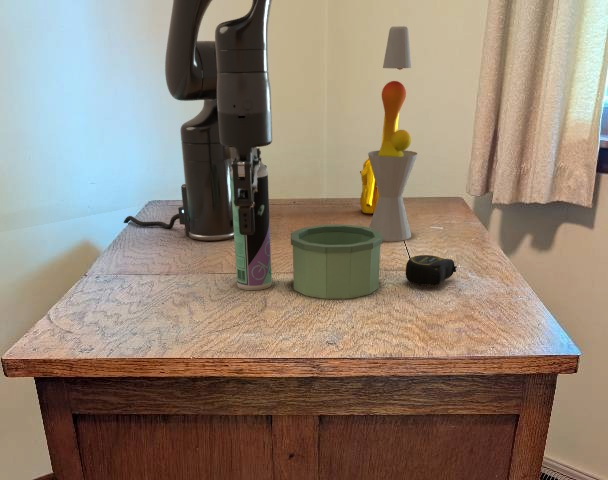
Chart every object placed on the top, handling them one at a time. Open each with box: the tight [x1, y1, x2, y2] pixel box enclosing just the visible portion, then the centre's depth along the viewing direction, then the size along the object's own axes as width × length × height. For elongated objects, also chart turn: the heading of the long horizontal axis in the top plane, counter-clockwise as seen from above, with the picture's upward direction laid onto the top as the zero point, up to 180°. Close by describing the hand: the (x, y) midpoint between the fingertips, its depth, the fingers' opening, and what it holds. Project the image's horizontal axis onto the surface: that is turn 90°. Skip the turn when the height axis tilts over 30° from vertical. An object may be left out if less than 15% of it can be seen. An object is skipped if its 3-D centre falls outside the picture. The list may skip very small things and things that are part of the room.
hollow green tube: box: [290, 224, 384, 300], centre depth 111 cm, size 14×14×8 cm
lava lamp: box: [367, 25, 418, 242], centre depth 130 cm, size 9×9×35 cm
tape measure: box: [405, 254, 458, 286], centre depth 112 cm, size 7×7×4 cm
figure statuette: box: [359, 113, 400, 214], centre depth 152 cm, size 18×8×22 cm, turn 175°
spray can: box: [230, 155, 273, 291], centre depth 108 cm, size 6×6×20 cm
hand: (250, 227), depth 109 cm, fingers open, 7 cm apart
